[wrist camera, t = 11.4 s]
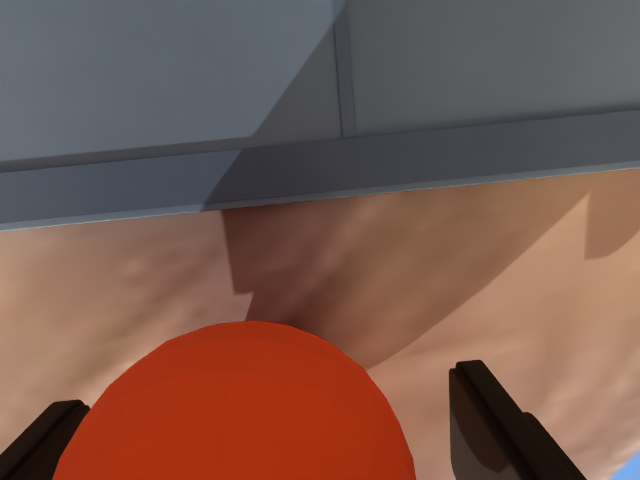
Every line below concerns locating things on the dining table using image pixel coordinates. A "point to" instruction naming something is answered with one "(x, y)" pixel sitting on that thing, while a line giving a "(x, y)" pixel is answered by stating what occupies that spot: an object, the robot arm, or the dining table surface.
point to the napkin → (303, 100)
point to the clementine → (240, 414)
